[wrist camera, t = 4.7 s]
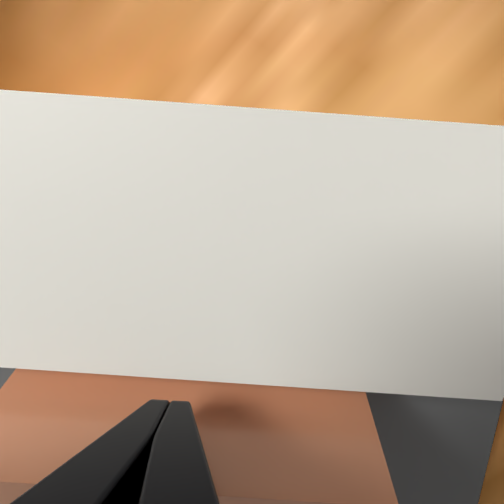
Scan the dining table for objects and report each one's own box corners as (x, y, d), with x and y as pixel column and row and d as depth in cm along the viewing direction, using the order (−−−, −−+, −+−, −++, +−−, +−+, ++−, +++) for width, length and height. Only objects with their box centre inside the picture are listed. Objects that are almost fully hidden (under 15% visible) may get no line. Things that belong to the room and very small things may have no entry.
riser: (-48, 309, 12) (-150, 357, 9) (-71, 100, 10) (-201, 74, 7) (441, 342, 12) (502, 401, 9) (481, 140, 10) (568, 130, 8)
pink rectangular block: (39, 338, 11) (52, 388, 12) (-68, 477, 7) (-38, 533, 8) (355, 359, 11) (343, 407, 12) (399, 507, 7) (377, 559, 8)
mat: (-84, 507, 13) (-94, 517, 13) (-112, 319, 12) (-124, 325, 11) (459, 542, 13) (465, 553, 13) (502, 361, 12) (510, 368, 12)
